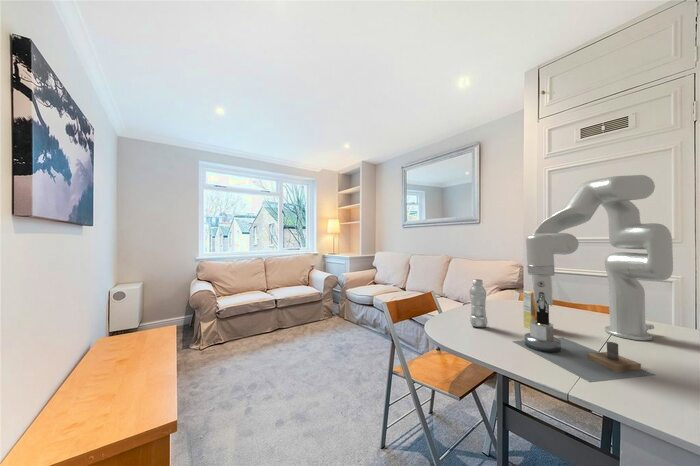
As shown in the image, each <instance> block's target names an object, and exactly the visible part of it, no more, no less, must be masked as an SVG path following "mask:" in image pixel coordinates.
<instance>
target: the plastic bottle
mask: <svg viewBox="0 0 700 466" xmlns="http://www.w3.org/2000/svg"><path fill="white" fill-rule="evenodd" d="M483 283H484V282H483V279H478V278H477V279H476V278H475V279H472V286H471V287H470V288H469V296H470V297H469V298H470V303H471V305H470V307H471V309H470V310H471V311H470V312H471V313H470V318H469V321H470V324H471V326H472V327H474V328H480V329H481V328H482V329H484V328H487V326H488V317H487V312H486V301H487V300H486V299H487V290H486V289H485V287H484V284H483Z"/></svg>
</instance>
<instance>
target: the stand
mask: <svg viewBox="0 0 700 466" xmlns="http://www.w3.org/2000/svg"><path fill="white" fill-rule="evenodd" d="M599 352H600V351H599ZM587 359H589V360H591V361H593V362H596V363H598V364H600V365H602V366H605V367H607V368H609V369H611V370H614V371H616V372H623V371H632V370H641V369H642V365H641V364H642V363H639V362H637V361H634V360H632V359H629V358H626V357H624V356H621V355H619V343H617V342H614V341H606V351H602V352H600V353H589V354H587Z"/></svg>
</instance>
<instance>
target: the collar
mask: <svg viewBox="0 0 700 466" xmlns="http://www.w3.org/2000/svg"><path fill="white" fill-rule="evenodd" d="M529 333H530V337H531V338H533V339H535V340H538V341H543V342H554V337H555V336H554V334H555V333H554V324H553V323H551V322H549V325H546V326H543V325H538V324H537V320H536V321H530V329H529Z"/></svg>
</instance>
